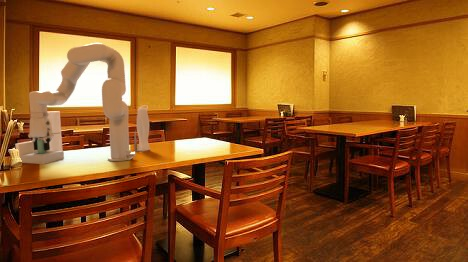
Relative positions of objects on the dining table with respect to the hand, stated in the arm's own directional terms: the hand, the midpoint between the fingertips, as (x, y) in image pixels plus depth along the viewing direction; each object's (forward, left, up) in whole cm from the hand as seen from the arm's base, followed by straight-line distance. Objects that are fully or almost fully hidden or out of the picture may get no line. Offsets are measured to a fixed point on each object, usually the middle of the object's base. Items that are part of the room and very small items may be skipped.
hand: (41, 149), depth 167 cm
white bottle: (-37, -39, -6) cm, 54 cm away
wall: (+8, 0, -6) cm, 10 cm away
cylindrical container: (+8, -18, -6) cm, 21 cm away
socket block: (0, 0, -6) cm, 6 cm away
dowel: (0, 0, -5) cm, 5 cm away
